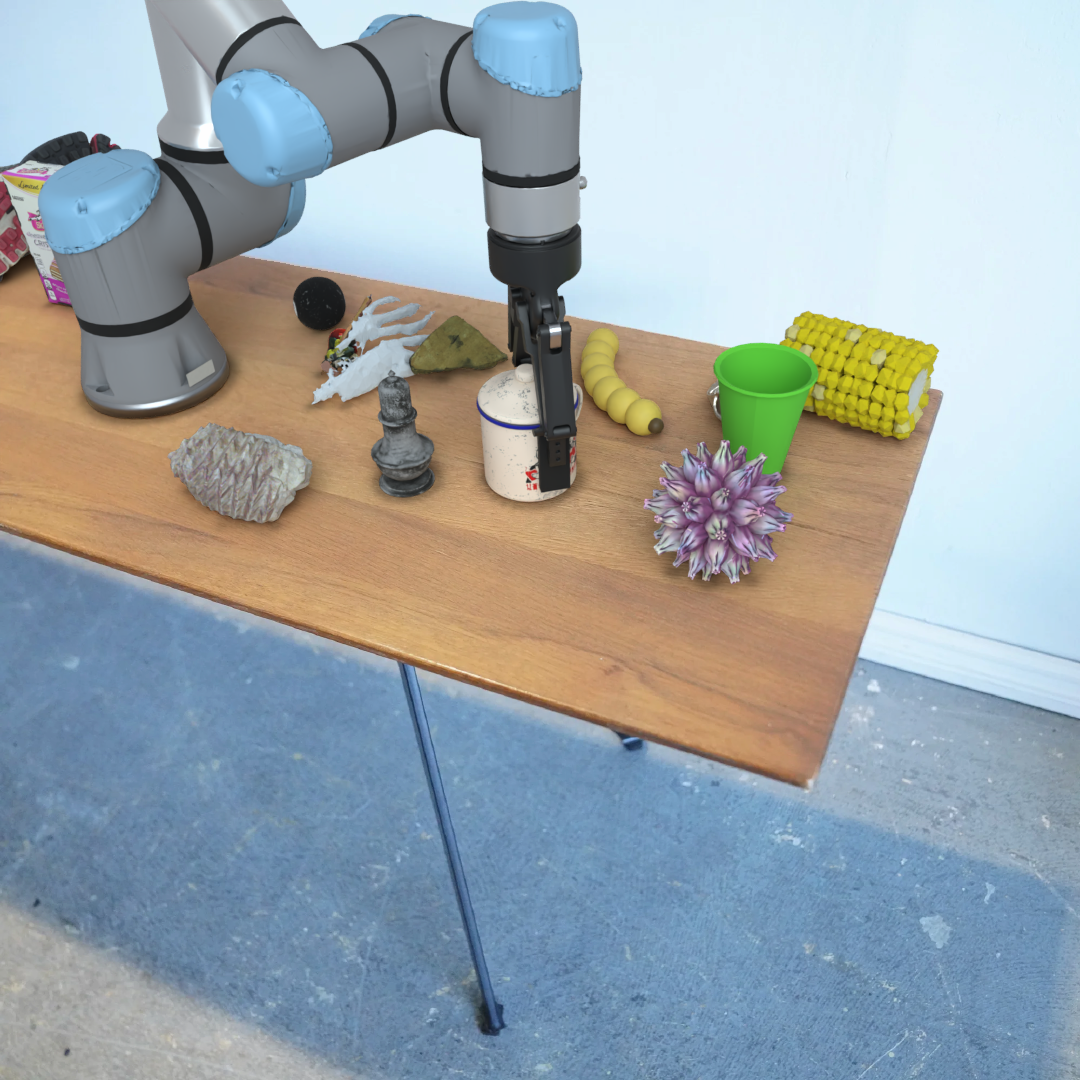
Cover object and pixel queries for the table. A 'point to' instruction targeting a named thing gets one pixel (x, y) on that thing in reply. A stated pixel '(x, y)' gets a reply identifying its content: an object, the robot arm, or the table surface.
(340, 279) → the table surface
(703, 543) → the flower
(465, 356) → the stone
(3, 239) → the running shoe
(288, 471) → the grey ridged fossil rock
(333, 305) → the billiard ball
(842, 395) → the food
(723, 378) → the cup
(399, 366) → the decorative object
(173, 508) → the table surface
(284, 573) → the table surface
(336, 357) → the toy figure
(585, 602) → the table surface
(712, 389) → the ornament
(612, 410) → the yellow segmented curved bar
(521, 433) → the teacup with lid
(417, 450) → the grey carved upright piece
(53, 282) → the candy bar box
